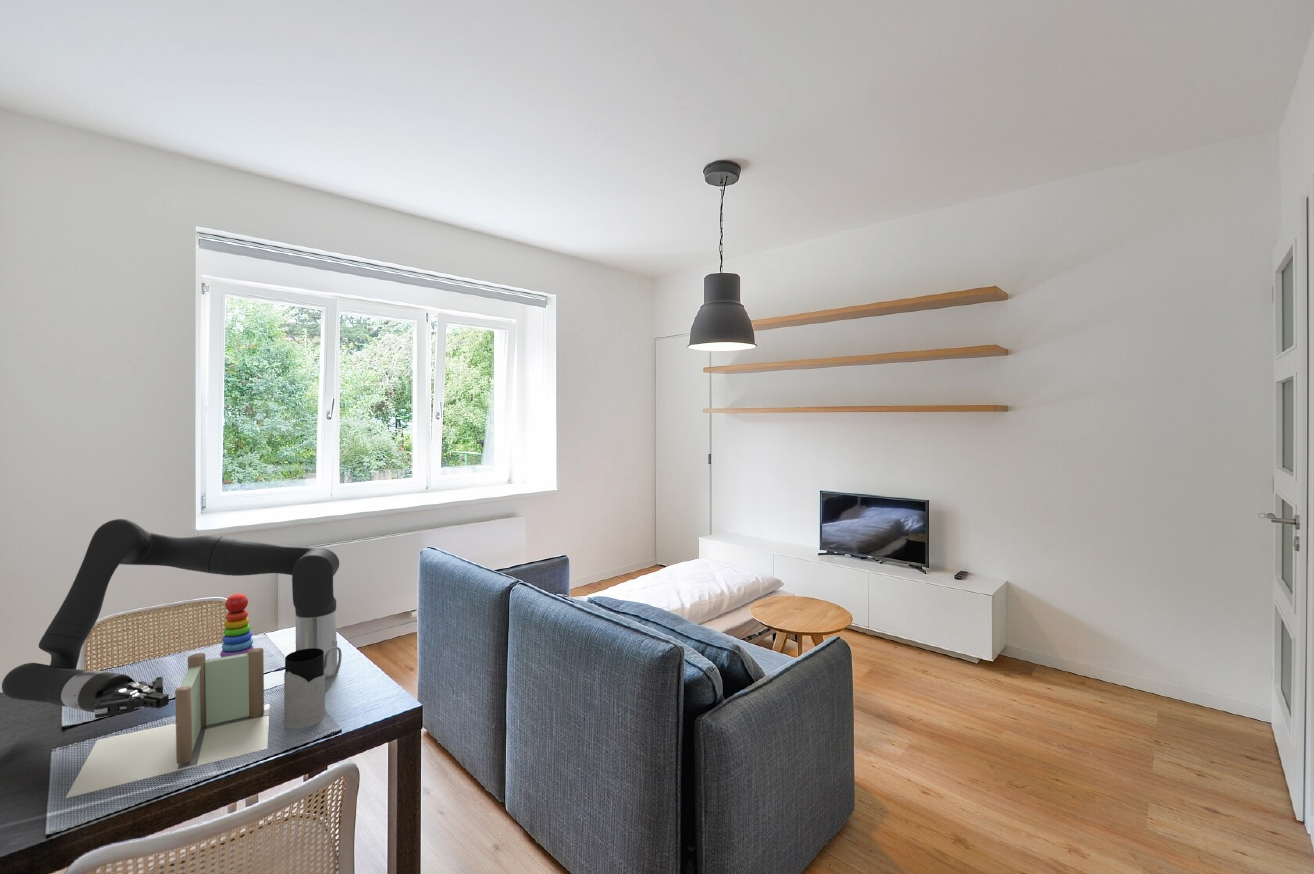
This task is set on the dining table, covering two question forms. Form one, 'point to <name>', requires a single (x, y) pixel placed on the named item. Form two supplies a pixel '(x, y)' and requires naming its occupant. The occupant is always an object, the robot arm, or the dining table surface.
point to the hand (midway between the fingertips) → (164, 701)
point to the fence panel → (187, 715)
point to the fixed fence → (230, 686)
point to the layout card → (166, 752)
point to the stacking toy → (236, 627)
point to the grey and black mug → (306, 686)
